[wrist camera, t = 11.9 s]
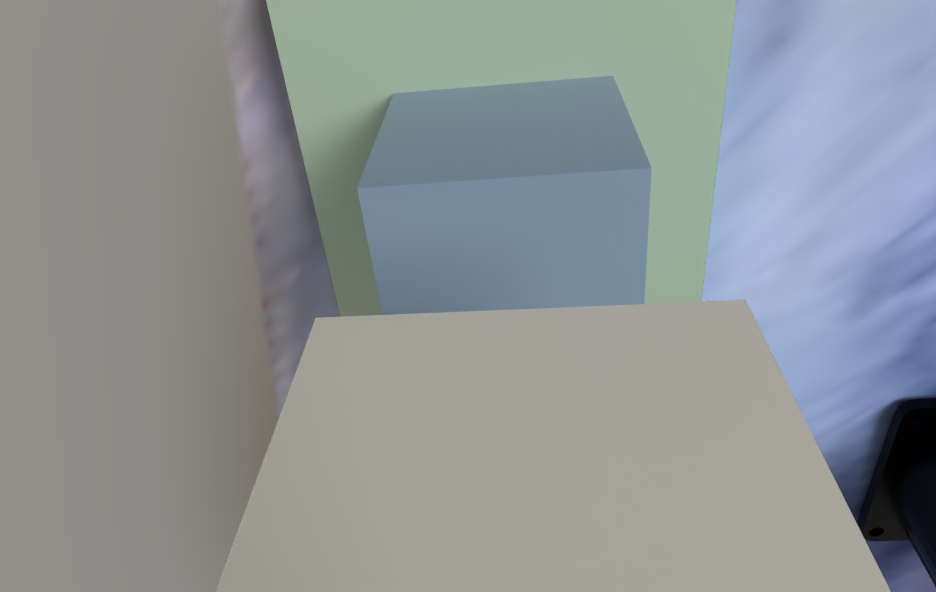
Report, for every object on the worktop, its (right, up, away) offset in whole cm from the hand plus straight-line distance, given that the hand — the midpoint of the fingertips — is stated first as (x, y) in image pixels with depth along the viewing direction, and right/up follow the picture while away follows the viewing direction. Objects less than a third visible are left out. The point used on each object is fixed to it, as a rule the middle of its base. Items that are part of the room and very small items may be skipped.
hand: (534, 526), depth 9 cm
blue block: (0, +6, +9) cm, 10 cm away
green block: (0, +6, +10) cm, 12 cm away
